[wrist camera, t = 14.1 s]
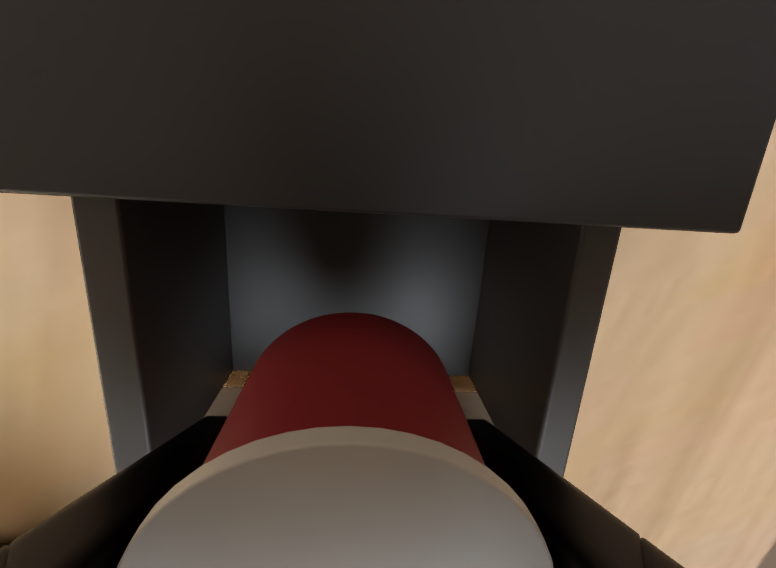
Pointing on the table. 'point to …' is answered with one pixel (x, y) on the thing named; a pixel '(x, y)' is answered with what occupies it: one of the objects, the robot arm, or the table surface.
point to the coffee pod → (342, 467)
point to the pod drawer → (336, 306)
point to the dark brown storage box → (396, 106)
